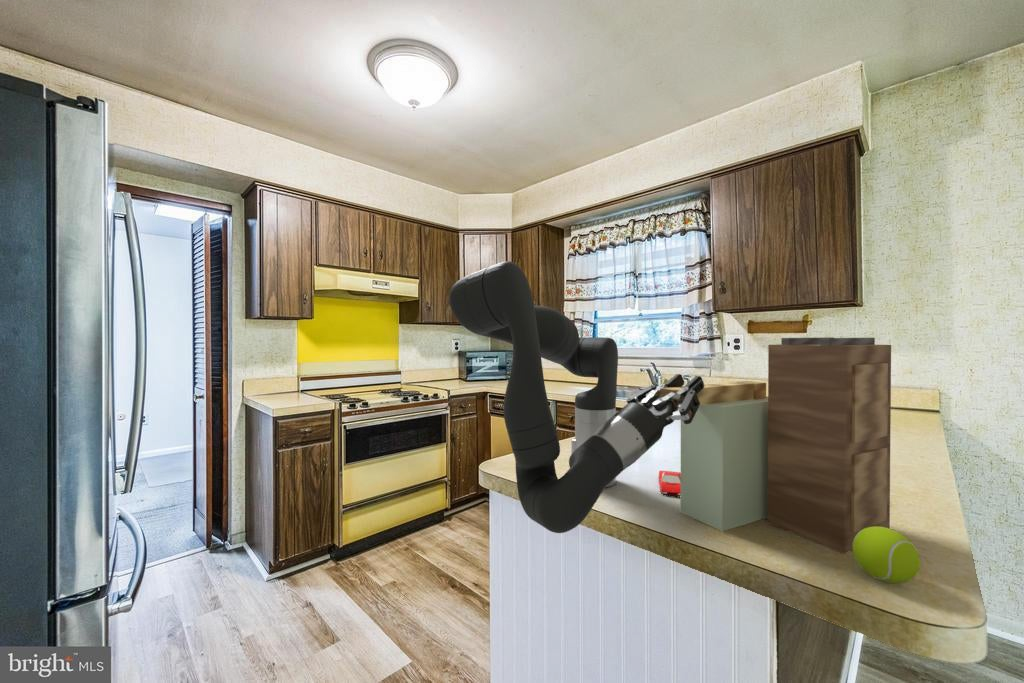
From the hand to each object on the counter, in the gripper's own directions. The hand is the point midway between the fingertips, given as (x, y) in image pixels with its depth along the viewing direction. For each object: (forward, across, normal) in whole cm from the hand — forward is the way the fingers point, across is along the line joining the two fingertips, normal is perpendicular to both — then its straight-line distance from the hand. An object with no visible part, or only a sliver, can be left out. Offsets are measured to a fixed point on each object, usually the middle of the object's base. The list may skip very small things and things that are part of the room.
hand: (690, 379), depth 76 cm
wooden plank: (+3, 0, +7) cm, 8 cm away
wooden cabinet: (+4, -12, +32) cm, 35 cm away
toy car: (-3, +15, +29) cm, 33 cm away
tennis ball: (-4, -24, +28) cm, 37 cm away
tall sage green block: (-4, 0, +28) cm, 28 cm away
